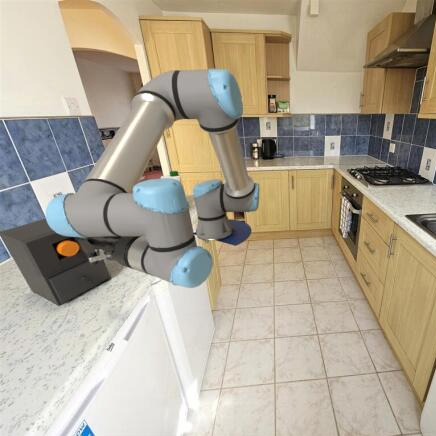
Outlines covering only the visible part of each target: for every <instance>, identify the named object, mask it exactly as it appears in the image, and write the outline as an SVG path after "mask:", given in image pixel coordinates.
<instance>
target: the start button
mask: <svg viewBox="0 0 436 436" xmlns="http://www.w3.org/2000/svg"><path fill="white" fill-rule="evenodd" d="M56 249H57V252H58V253H59V254H62V255H64V256H73V255H75V254H76V253H77V252H78V251H79V245H78V244H77V243H76V242H73V241H70V240H65V241H62V242H60V243H59V244H58V245H57V248H56Z"/></svg>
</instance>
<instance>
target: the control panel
mask: <svg viewBox="0 0 436 436" xmlns="http://www.w3.org/2000/svg"><path fill="white" fill-rule="evenodd" d="M0 238H1V240H2V242H3V243H4V245H5V247H6V248H7V250H8V252H9V254H10V256H11V257H12V259H13V261H14V263H15V264H16V265H17V264H18V265H20V266H22V267H24V268H26V269H28V270H30V271H32V272H34V273H36V274H38V275H40V276H42V277H45V276H47V275H49V274H51V273H54V272H56V271H58V270H60V269H63V268H65V267H67V266H69V265H71V264H74V263H76V262H78V261H80V260H83V259H85V258H87V255H86V253H85V252H84V251H83V250H82V248H81V245H80V243H79V241H78V240H79V238H78V237H70V236H63V235H60V234H58V233H56V232H55V231H53V230H52V229H51V228H50V226H49V225H48V223H47V220H46V218H43V219H40V220H36V221H32V222H29V223H26V224H21V225H19V226H15V227H12V228H8V229H6V230H1V231H0ZM65 240H70V241H73V242H76V243H77V244H78V245H79V251H78V252H77V253H76V254H75V255H73V256H64V255H62V254H59V253H58V252H57V249H56V248H57V245H58V244H59V243H60V242H62V241H65ZM94 248H95V247H94ZM96 249H98V248H95V250H96ZM98 251H99V252H101V249H98Z"/></svg>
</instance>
